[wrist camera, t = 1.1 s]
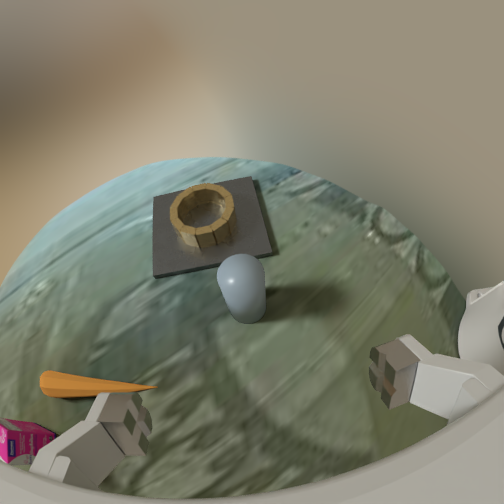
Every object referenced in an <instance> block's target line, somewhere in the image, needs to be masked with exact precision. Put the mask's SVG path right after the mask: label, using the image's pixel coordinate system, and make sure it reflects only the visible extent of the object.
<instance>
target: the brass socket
mask: <svg viewBox="0 0 504 504" xmlns="http://www.w3.org/2000/svg"><path fill="white" fill-rule="evenodd" d="M205 203H213V204H218V205H221V206H222V207H223V208H224V209H225V210H224V212H223V214H222V216H221V218H219V219H218V220H217V221H215V222H214V223H212V224H211V225H209V226H204V227H199V228H194V227H190V226H186V225H184V224H183V220H184V218H185V216H186V215H187V213H188V211H190V210H191V209H193V208H194V207H196V206H197V205H200V204H205ZM170 221H171V223H172V225H173V227H174V229H175V232H176V234H177V235H178V236H179V237H180V239H181V240H182V241H183V242H184V243H186V244H187V245H191V246H194V247H198V248H200V247H201V248H204V247H209V246H214V245H216V243H217V244H219V243H220V242H222V241H223V240H224V239H226V238H227V237H228V236H230V234H231V233H232V231H233V229H234V227H235V224H236V222H237V219H236V214H235V208H234V203H233V198H232V195H231V193H230V192H228V191H227V190H226V189H225V188H224V187H222V186H220V185H215V184H210V183H207V184H206V183H204V184H199V185H195V186H192V188H191V187H189V188H188V189H186V190H185V191H183V192H182V193H180V194H179V195H178V196H177V197H176V198H175V200H174V202H173V203H172V205H171V207H170Z"/></svg>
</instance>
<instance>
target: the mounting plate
mask: <svg viewBox="0 0 504 504" xmlns="http://www.w3.org/2000/svg"><path fill="white" fill-rule="evenodd" d="M214 184H215V185H220V186H222V187H224V188H225V189H226V190H227V191H228V192H230V193H231V195H232V198H233V203H234V208H235V214H236V219H237V222H236V224H235V227H234V229H233V231H232V233H231V234H230V236H228V237H227V238H226V239H224V240H223V241H222V242H220V243H219V244H217V243H216V245H214V246H209V247H204V248H201V247H200V248H198V247H194V246H191V245H187V244H186V243H184V242H183V241H182V240H181V239H180V237H179V236H178V235H177V234H176V232H175V229H174V227H173V225H172V223H171V221H170V207H171V205H172V203H173V202H174V200H175V198H176V197H177V196H178V195H179V194H180V193H182V192H183V191H185V190H181V191H177V192H173V193H169V194H164V195H160V196H156V197H154V201H153V276H154V278H155V279H156V278H161V277H167V276H172V275H177V274H182V273H187V272H192V271H197V270H202V269H207V268H213V267H218V266H220V265H221V264H222V262H223V261H224V260H225V259H227V258H228V257H230V256H233V255H236V254H248V255H251V256H253V257H255V258H256V259H258V258H263V257H268V256H272V249H271V246H270V242H269V238H268V235H267V231H266V227H265V224H264V220H263V216H262V213H261V209H260V206H259V202H258V198H257V195H256V191H255V188H254V184H253V181H252V177H251V176H250V177H245V178H239V179H234V180H229V181H224V182H219V183H214ZM224 210H225V209H224V208H223V207H222V206H221V205H218V204H213V203H205V204H200V205H197V206H196V207H194V208H193V209H191V210H190V211H188V213H187V215H186V216H185V218H184V220H183V224H184V225H186V226H190V227H194V228H199V227H204V226H209V225H211V224H212V223H214V222H215V221H217V220H218V219H219V218H221V216H222V214H223V212H224Z"/></svg>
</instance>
